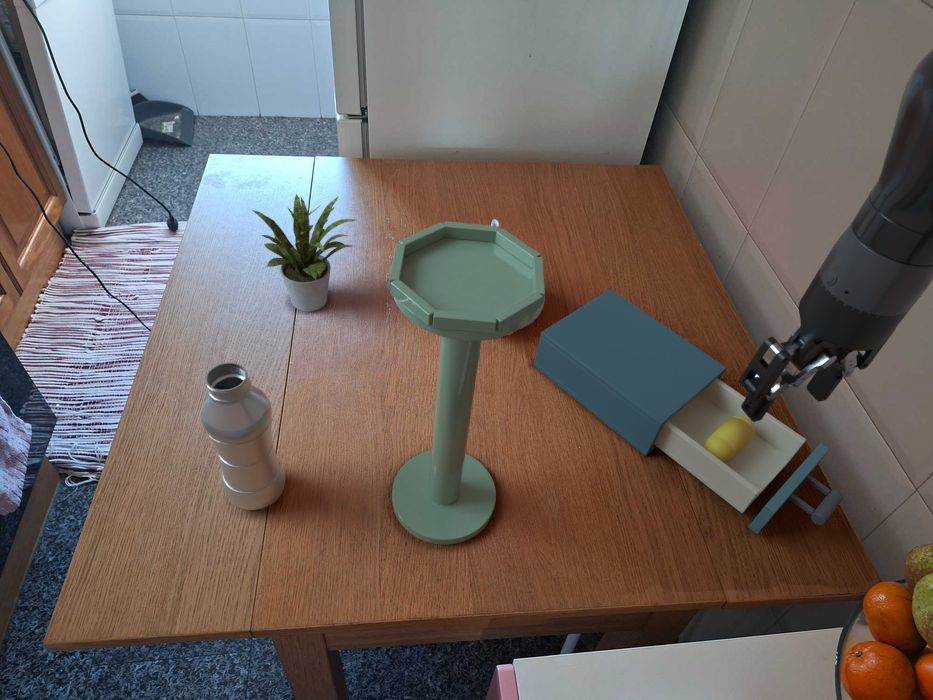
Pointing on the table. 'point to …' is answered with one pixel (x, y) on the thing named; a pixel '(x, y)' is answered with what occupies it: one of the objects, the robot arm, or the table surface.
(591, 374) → the cabinet
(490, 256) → the cake stand
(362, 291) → the table surface
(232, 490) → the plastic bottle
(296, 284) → the house plant
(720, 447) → the yellow rounded capsule
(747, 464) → the drawer
